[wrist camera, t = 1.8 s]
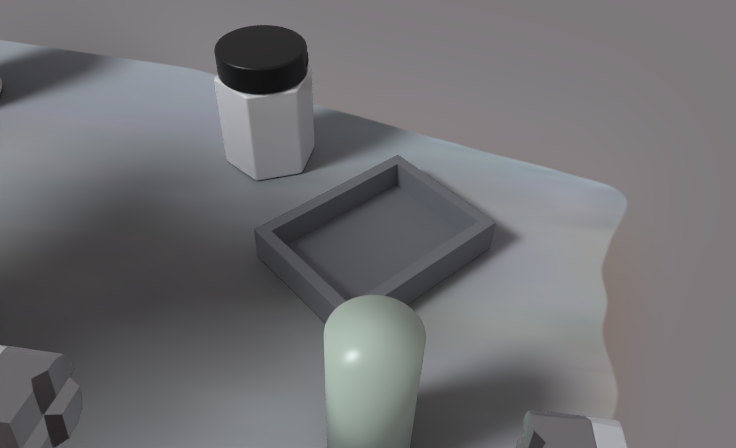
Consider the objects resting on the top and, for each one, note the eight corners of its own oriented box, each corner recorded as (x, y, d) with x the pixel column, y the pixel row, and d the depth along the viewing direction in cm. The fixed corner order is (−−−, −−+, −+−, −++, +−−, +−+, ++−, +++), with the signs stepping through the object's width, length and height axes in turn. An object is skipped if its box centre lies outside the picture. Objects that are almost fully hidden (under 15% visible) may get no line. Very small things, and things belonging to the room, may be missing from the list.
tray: (347, 345, 48) (347, 319, 46) (257, 255, 54) (254, 229, 52) (489, 248, 56) (495, 222, 54) (396, 180, 62) (397, 154, 60)
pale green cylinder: (363, 503, 39) (369, 397, 31) (310, 440, 42) (303, 328, 34) (426, 449, 42) (446, 339, 34) (372, 394, 45) (379, 280, 37)
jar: (331, 155, 65) (329, 46, 57) (270, 193, 60) (258, 81, 52) (272, 120, 69) (263, 14, 61) (211, 153, 65) (192, 43, 56)
